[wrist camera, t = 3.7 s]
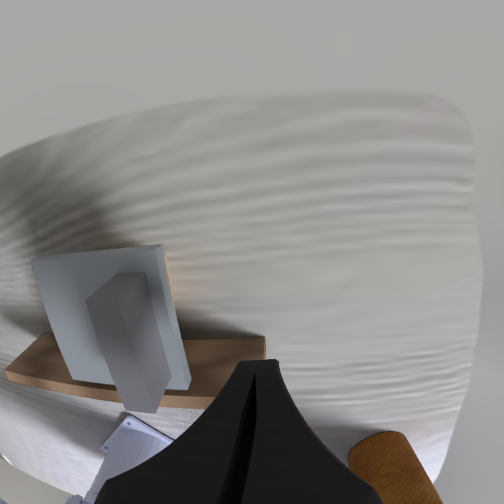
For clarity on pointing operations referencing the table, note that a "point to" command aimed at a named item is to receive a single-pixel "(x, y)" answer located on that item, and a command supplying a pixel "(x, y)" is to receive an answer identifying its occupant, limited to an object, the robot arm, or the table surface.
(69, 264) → the slate cover
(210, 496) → the robot arm
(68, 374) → the walnut track wall
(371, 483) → the disposable coffee cup
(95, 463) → the table surface
